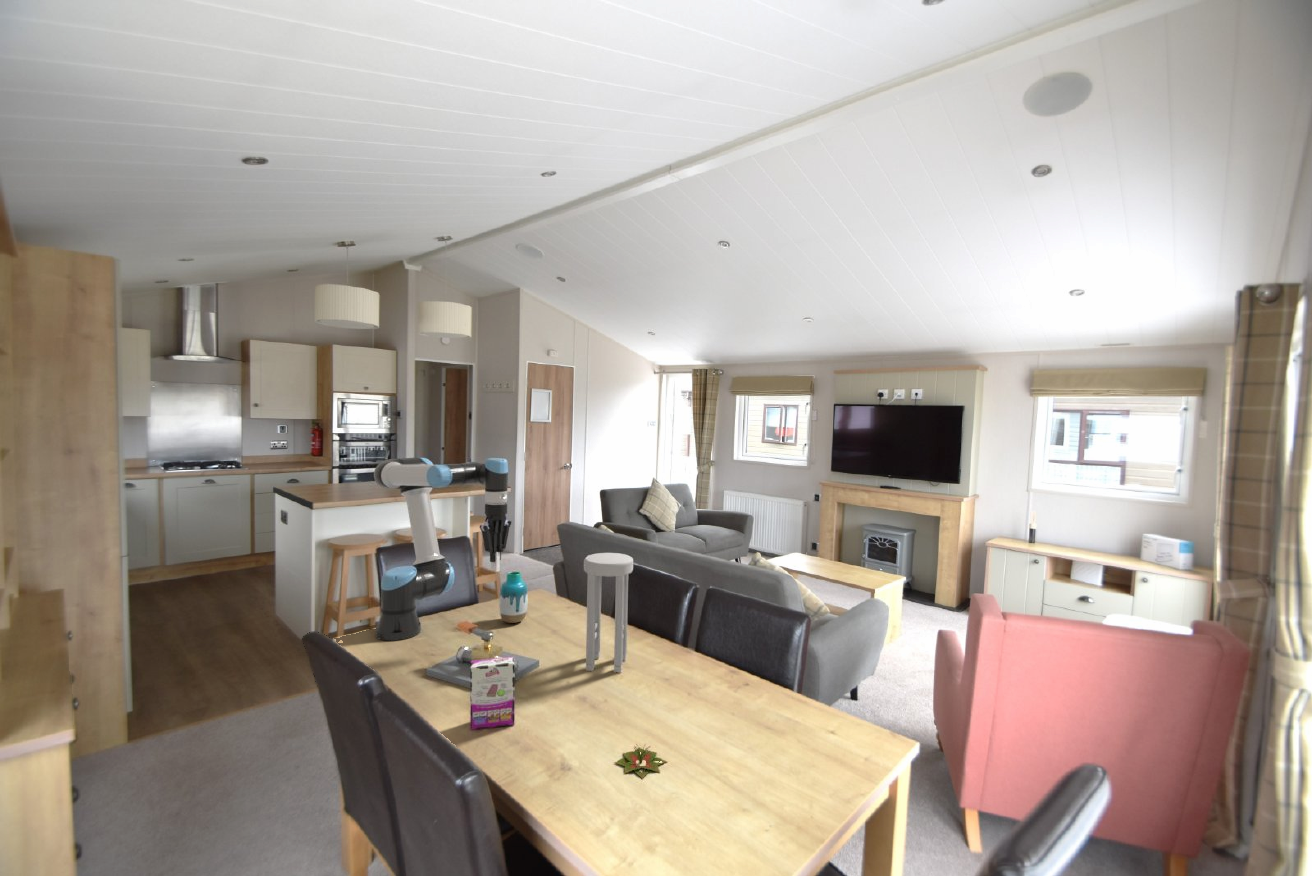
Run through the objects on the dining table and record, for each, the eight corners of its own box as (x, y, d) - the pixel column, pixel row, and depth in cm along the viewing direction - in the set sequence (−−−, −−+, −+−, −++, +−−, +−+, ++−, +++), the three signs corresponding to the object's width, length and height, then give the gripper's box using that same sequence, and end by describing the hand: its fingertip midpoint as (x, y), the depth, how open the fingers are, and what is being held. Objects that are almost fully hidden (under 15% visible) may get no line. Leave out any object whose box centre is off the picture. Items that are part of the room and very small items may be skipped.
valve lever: (485, 641, 180) (485, 636, 180) (456, 629, 190) (456, 623, 190) (495, 638, 183) (495, 632, 183) (466, 626, 193) (466, 620, 193)
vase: (523, 627, 223) (524, 577, 223) (495, 626, 224) (496, 576, 223) (530, 617, 234) (530, 569, 233) (503, 616, 234) (504, 569, 233)
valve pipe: (454, 664, 185) (454, 636, 184) (468, 658, 190) (468, 630, 190) (506, 679, 175) (507, 649, 175) (519, 671, 181) (520, 642, 180)
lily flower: (638, 744, 146) (639, 726, 146) (676, 764, 138) (677, 744, 138) (604, 766, 137) (604, 746, 136) (642, 787, 129) (643, 767, 129)
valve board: (426, 675, 180) (426, 668, 180) (477, 650, 200) (477, 644, 200) (491, 694, 169) (491, 687, 169) (539, 666, 189) (539, 660, 189)
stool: (633, 656, 198) (635, 553, 197) (626, 676, 183) (629, 564, 182) (588, 653, 200) (590, 551, 199) (577, 672, 184) (579, 562, 183)
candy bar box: (514, 716, 157) (514, 655, 157) (514, 725, 152) (515, 663, 152) (470, 721, 154) (471, 659, 154) (469, 731, 149) (470, 667, 149)
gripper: (489, 506, 195) (489, 576, 196) (517, 501, 207) (516, 568, 207) (473, 504, 199) (473, 573, 200) (502, 500, 210) (501, 565, 211)
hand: (495, 570), depth 204 cm, fingers closed
